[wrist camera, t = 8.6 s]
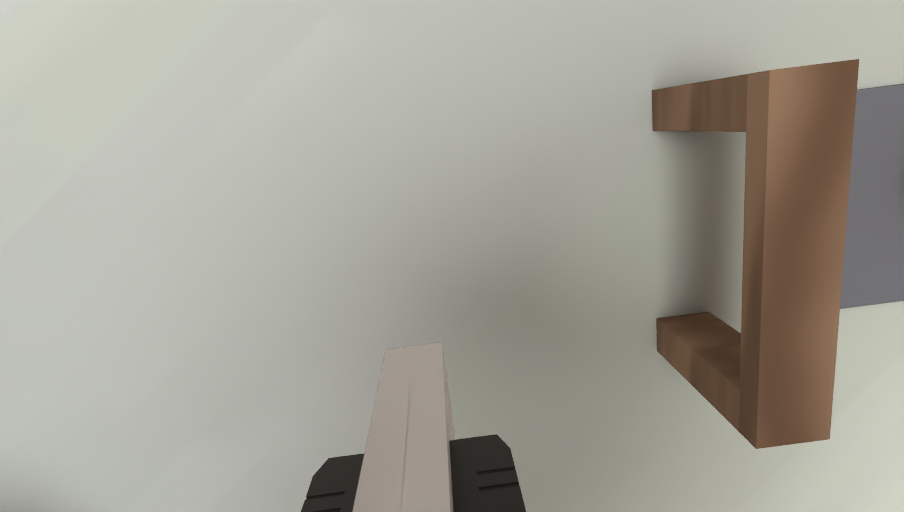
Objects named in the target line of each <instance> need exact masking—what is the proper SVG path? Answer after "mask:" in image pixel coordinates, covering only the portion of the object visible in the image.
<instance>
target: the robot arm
mask: <svg viewBox="0 0 904 512" xmlns="http://www.w3.org/2000/svg"><path fill="white" fill-rule="evenodd" d="M301 512H526V510H525V506H524V502H523V498H522V494H521V490H520V486H519V482H518V478H517V474H516V470H515V466H514V461H513V457H512V453H511V449H510V448H509V447H508V446H507V445H506V444H505V443H504V442H503V440H502V439H501V438H500V437H499V436H498V435H497V434H496V435H488V436H481V437H473V438H465V439H458V440H455V438H454V428H453V421H452V413H451V406H450V399H449V392H448V384H447V377H446V370H445V362H444V355H443V348H442V342H441V343H433V344H426V345H418V346H410V347H403V348H395V349H387V350H386V351H385V355H384V360H383V365H382V370H381V375H380V380H379V385H378V390H377V394H376V399H375V404H374V409H373V414H372V419H371V424H370V429H369V434H368V438H367V443H366V448H365V453H364V454H357V455H350V456H342V457H334V458H328V460H327V461H326V462H325V463H324V464H323V465H322V467H321V468H320V469H319V470H318V471H317V472H316V473H315V475H314V476H313V478H312V481H311V484H310V487H309V490H308V493H307V496H306V500H305V501H304V504H303V507H302V510H301Z"/></svg>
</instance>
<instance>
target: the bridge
mask: <svg viewBox="0 0 904 512" xmlns="http://www.w3.org/2000/svg"><path fill="white" fill-rule="evenodd" d="M858 67H859V59H856V60H848V61H840V62H832V63H824V64H816V65H808V66H800V67H792V68H784V69H776V70H769V71H763V72H757V73H751V74H745V75H739V76H733V77H728V78H722V79H716V80H710V81H704V82H698V83H692V84H686V85H681V86H675V87H669V88H663V89H657V90H652V113H653V131H725V132H746V162H745V201H744V241H743V280H742V319H741V333H739V332H738V331H736V330H735V329H733V328H732V327H730V326H729V325H727V324H726V323H724V322H723V321H721V320H720V319H718V318H717V317H715V316H714V315H712V314H711V313H709V312H705V313H697V314H689V315H682V316H674V317H666V318H658V319H657V351H658V352H659V353H660V354H661V355H662V356H663V357H664V358H665V359H666V360H667V361H668V362H669V363H670V364H671V365H672V366H673V367H674V368H675V369H676V370H677V371H678V372H679V373H680V374H681V375H682V376H683V377H684V378H685V379H686V380H687V381H688V382H689V383H690V384H691V385H692V386H693V387H694V388H695V389H696V390H697V391H698V392H699V393H700V394H701V395H702V396H703V397H704V398H705V399H707V400H708V401H709V402H710V403H711V404H712V405H713V406H714V407H715V408H716V409H717V410H718V411H719V412H720V413H721V414H722V415H723V416H724V417H725V418H726V419H727V420H728V421H729V422H730V423H731V424H732V425H733V426H734V427H735V428H736V429H737V430H738V431H739V432H740V433H741V434H742V435H743V436H744V437H745V438H746V439H747V440H748V441H749V442H750V443H751V444H752V445H753V446H754V447H755V448H756V449H758V448H766V447H773V446H781V445H789V444H796V443H804V442H812V441H819V440H827V439H830V427H831V414H832V402H833V389H834V376H835V363H836V350H837V337H838V324H839V312H840V299H841V286H842V273H843V260H844V247H845V234H846V221H847V209H848V196H849V183H850V170H851V157H852V144H853V131H854V119H855V106H856V93H857V80H858Z"/></svg>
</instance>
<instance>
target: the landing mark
mask: <svg viewBox="0 0 904 512" xmlns="http://www.w3.org/2000/svg"><path fill="white" fill-rule="evenodd" d="M897 301H904V84H900V85H892V86H885V87H877V88H869V89H861V90H857V93H856V106H855V119H854V131H853V144H852V157H851V170H850V183H849V196H848V209H847V221H846V234H845V247H844V260H843V273H842V286H841V299H840V309H843V308H850V307H858V306H866V305H874V304H881V303H889V302H897Z"/></svg>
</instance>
